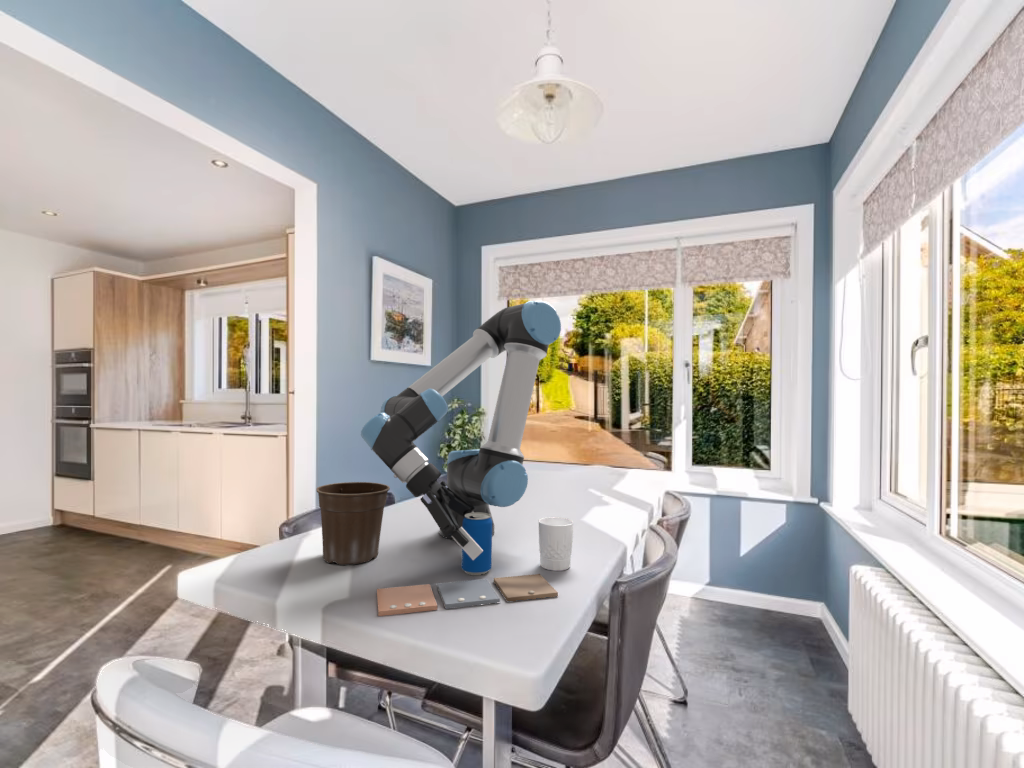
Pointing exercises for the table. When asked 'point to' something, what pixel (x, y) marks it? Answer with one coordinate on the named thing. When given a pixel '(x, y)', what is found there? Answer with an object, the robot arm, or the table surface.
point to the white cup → (555, 543)
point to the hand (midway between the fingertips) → (483, 545)
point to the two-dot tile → (467, 593)
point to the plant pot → (351, 520)
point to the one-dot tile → (524, 587)
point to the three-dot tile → (405, 600)
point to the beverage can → (478, 542)
